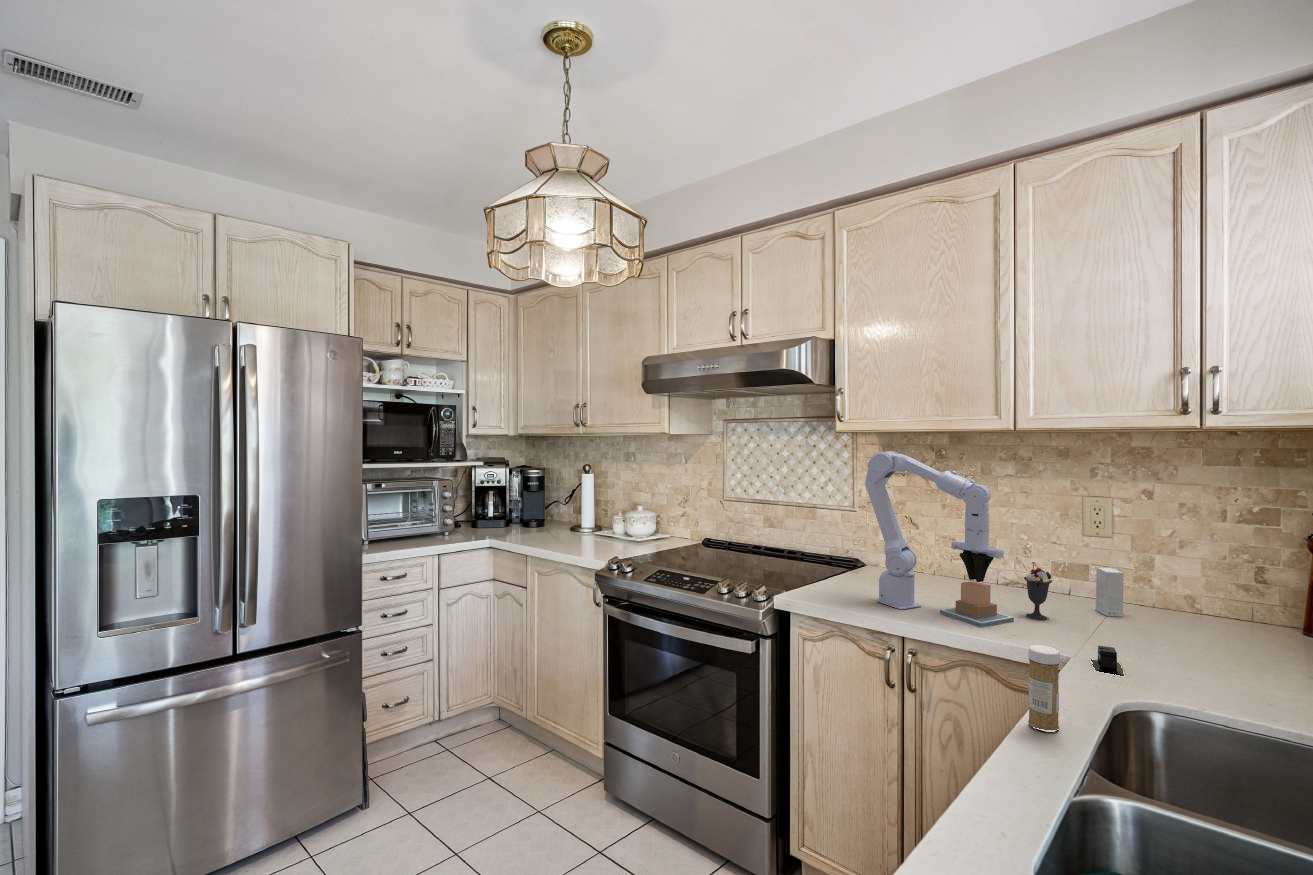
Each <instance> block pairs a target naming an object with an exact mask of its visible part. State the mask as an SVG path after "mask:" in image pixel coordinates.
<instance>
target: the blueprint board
mask: <svg viewBox="0 0 1313 875" xmlns="http://www.w3.org/2000/svg"><path fill="white" fill-rule="evenodd" d="M939 614H940V615H943V616H945V617H948V618H952V619H954V620H958V621H961V622H964V623H967V624H970V625H973V626H976V627H979V628H986V627H991V626H997V625H1002V624H1007V623H1008V624H1009V623H1013V622H1014V620H1015V618H1014V617H1012V616H1010V615H1006V614H1003V613H1000V612H998V604H996V603H993V602H990V604H987V605H981V606H975V605H972V604H968V603H965V602H962V601H961V599H957V600H955V607H949V608H942V609H939Z"/></svg>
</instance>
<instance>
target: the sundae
mask: <svg viewBox="0 0 1313 875" xmlns="http://www.w3.org/2000/svg"><path fill="white" fill-rule="evenodd" d="M1031 564H1032V569H1030V572H1029V573H1028V574H1027V576H1024V577H1023V579H1024V581H1026V588H1027V596H1028V599H1029V601H1030V602H1032V604H1033V605H1034V609H1033V612H1032V613H1026V615H1025V616H1026V617H1027V618H1029V619H1033V620H1037V621H1038V620H1039V621H1045V620H1048V617H1047V616H1046V615H1043V614H1042V613H1041V611H1040V606H1041V605H1042V604H1044V603H1046V600H1047V597H1048V593H1049V588H1050V585H1051V584H1052V583H1053V580H1052V577H1053V576H1052V575H1051V573H1050V572H1049V571H1045V570H1043V569H1042V568H1041V567H1038V566H1037V565H1036V562H1035V561H1032V563H1031ZM1035 567H1036V568H1035ZM1034 568H1035V569H1034Z"/></svg>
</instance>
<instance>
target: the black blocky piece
mask: <svg viewBox="0 0 1313 875" xmlns="http://www.w3.org/2000/svg"><path fill="white" fill-rule="evenodd" d="M1090 659H1091V661H1092V662H1093V664H1092V665H1093V667H1094V668H1095V670H1096V671H1099V672H1104V673H1110V674H1114V675H1115V674H1116V675H1120V676H1124V674H1123V670H1124V669H1122V668H1123V667H1122V668H1121V666H1122V664H1121V663H1120V662H1118V653H1117V650H1116V648H1115V647H1112V646H1106V645H1105V646H1104V645H1097V659H1095V660H1092V659H1093V658H1090ZM1119 663H1120V664H1121V665H1120V664H1119ZM1092 665H1091V666H1092Z"/></svg>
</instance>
